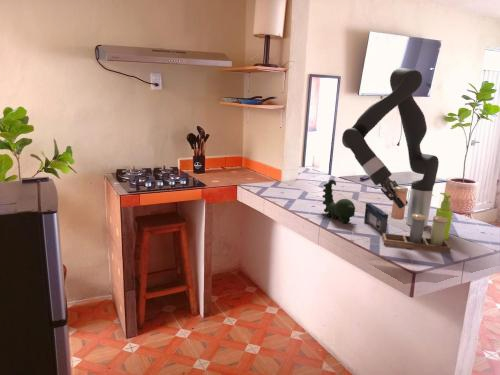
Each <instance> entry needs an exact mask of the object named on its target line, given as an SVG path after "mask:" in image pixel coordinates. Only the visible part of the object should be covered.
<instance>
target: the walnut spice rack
mask: <svg viewBox="0 0 500 375" xmlns="http://www.w3.org/2000/svg"><path fill="white" fill-rule="evenodd" d="M409 236H410V235H406V234H405V235H404V234H395V233H389V232H388V233H387V232H386V233H383V234H382V237H381V238H382V243H383V246H392V247H398V248H399V247H400V248H406V249H413V250H421V251H431V252H439V253H447V254H450V253H451V250H452V249H451V248H452V247H451V246H450V245H449V244H450V243H448V242H447V240H443V246H437V245H429V243H430V237H423V236H422V242H421V244H420V243H412V242H409Z"/></svg>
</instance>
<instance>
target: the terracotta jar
mask: <svg viewBox="0 0 500 375" xmlns="http://www.w3.org/2000/svg"><path fill="white" fill-rule="evenodd" d="M395 190H396V194H397V195H398V197H399V198H400V199H401V201H402V202H403V203H404V204H405V206H404V207H402V208H401V209H400V208H399V207H398V206H397V204H396V203H395V202H394V201H392V207H391V216H390V217H391V219H394V220H398V221H399V220H404V218H405V210H406V205H407V204H406V200H407V196H408V192H409V191H408V190H409V188H407V187H406V186H399V187H395Z"/></svg>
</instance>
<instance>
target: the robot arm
mask: <svg viewBox="0 0 500 375" xmlns="http://www.w3.org/2000/svg"><path fill="white" fill-rule="evenodd" d="M422 82H423V75H422V73H421V72H420V70H416V69H413V68H407V67H397V68H396V69H394V70H393V71H392V73H391V74H390V77H389V84H390V89H391V93H389V94H388V95H386V96H384V97H383V98H382V99H380V100H378V101H376V102H374V103H372V104H371V105H370V106H369V107H368V108H367V109H366V110H364V112H363V113H362V114H361V115H360V116H359V117H358V119H356V122H355V123H354V124H353V126H351V127H348V128H347V129H345V130H344V132H343V133H342V136H341V137H342V138H341V142H342V143H341V144H343V146H344V147H345V148H346V149H350V150H351V152H352V154H353V155H354V158H355V160H356V161H357V162H358V164H359V166H361V168H362V169H363V171H364V173H365V174H366V175H367V177H369V179H370V180H371V181H372V183H373V184H374V185H375V186H379V185H380V186H381V188H380V191H381V192H382V193H383V194H384V195H385V196H386V197H387V198H388V200H389V201H392V202H393V201H394V202H395V203H396V204H397V206H398V207H399V208H400V209H401V208H402V207H404V206H405V207H406V205H407V204H408V207H407V213H406V221H405V223H406V224H407V225H408V226H411V222H412V214H421V215H424V216H426V218H425V223H424V228H426V227H428V222H429V218H430V217H429V216H430V211H431V204H432V196H433V191H434V187H435V184H436V178H437V173H438V169H439V162H440V161H439V158H438V156H436V155H434V154H433V155H432V154H427V153H426V154H425V153H423V152H422V150H421V143H422V142H423V140H424V138H425V136H426V134H427V130H428V127H427V123H426V122H427V121H426V117H425V114H424V112H423V110H422V109H421V108H420V106H419V105H418V103H417V101H415V98H414V97H413V94H414V93H415V92H416V91H418V90H419V89H420V87H421V86H422ZM395 108H397V110H398V112H399V116H400V120H401V125H402V130H403V134H404V137H405V141H406V146H407V152H408V160H409V167H410V170H411V171H412V172H413V173H414V174H418V175H419V174H420V175H423V176H422V178H421V179H419V180H413V181H412V182H411V184H410V186H411V187H410V193H409V199H406V205H405V204H404V203H403V202H402V201H401V199H400V198H399V197H398V195H397V194H396V190H395V187H400V186H399V185H398V183H397V182H396V180H391V178H390V177H391V176H392V172H391V171H390V170H389V168H388V167H387V166H386V165H385V163H384V162H383V161H382V160H381V159H380V157H378V156H377V155H376V153H375V152H374V151H373V149H372V148H371V147H370V146H369V144H368V143H367V140H366V139H365V138H366V137H367V135H368V133H369V132H371V131H372V130H373V129H374V128H375V127H376V126H377V125H378V124H379V123H380V121H381V120H382V119H384V117H386V116H387V115H388V114H389V113H390V112H391V111H392V110H393V109H395ZM407 200H408V201H407Z"/></svg>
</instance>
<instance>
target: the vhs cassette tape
mask: <svg viewBox="0 0 500 375" xmlns="http://www.w3.org/2000/svg"><path fill="white" fill-rule="evenodd" d="M388 219H389V214H387V213H386V212H385V211H383V210H382V209H380V208H378V207H377V206H376V205H374V204H372V203H371V202H366V203H365V211H364V221H363V224H364V225H368V226H371V227H372V228H374V230H376V231H377V232H379V233H380V235H383V233H387V228H388Z"/></svg>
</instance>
